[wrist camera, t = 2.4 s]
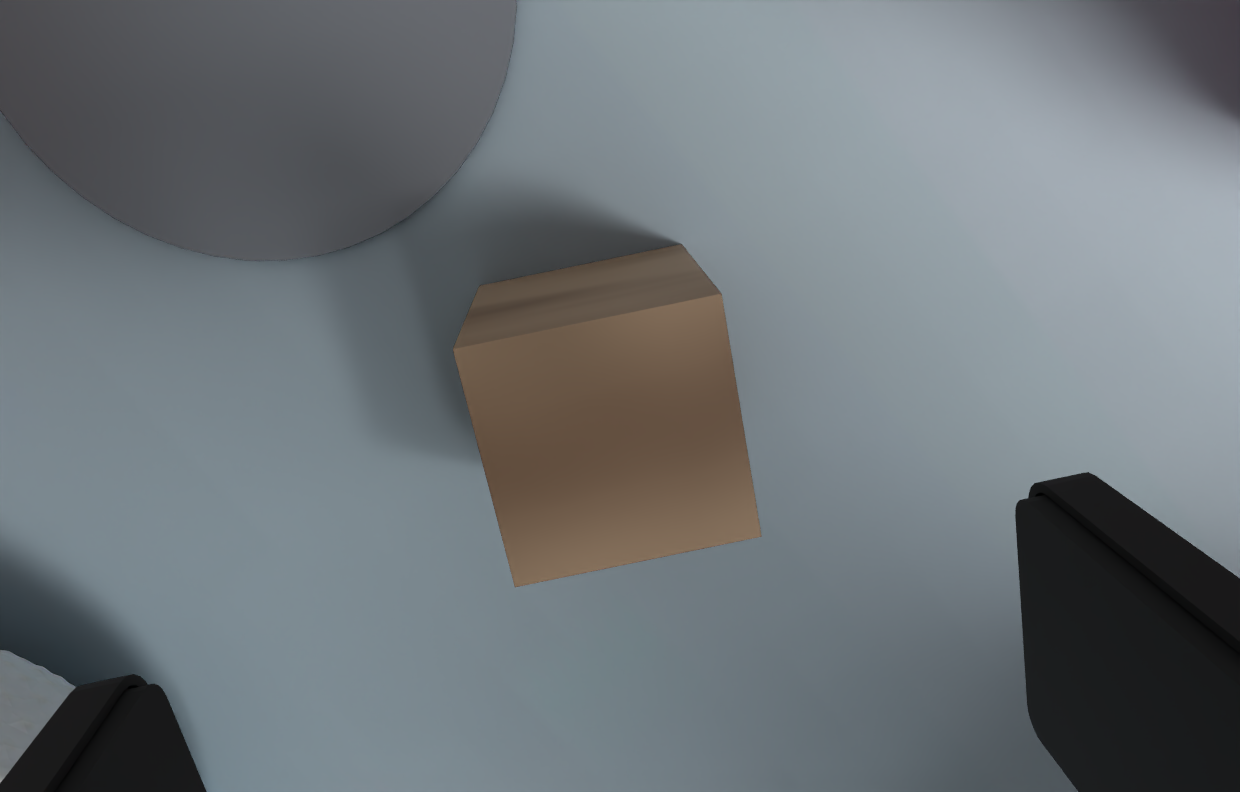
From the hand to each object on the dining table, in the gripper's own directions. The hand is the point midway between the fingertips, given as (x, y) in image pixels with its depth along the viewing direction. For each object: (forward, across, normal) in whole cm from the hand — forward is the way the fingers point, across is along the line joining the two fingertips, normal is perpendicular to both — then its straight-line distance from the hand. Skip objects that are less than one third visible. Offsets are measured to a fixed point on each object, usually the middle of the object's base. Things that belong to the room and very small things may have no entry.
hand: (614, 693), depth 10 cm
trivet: (+14, +5, -10) cm, 18 cm away
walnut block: (+14, -1, 0) cm, 14 cm away
